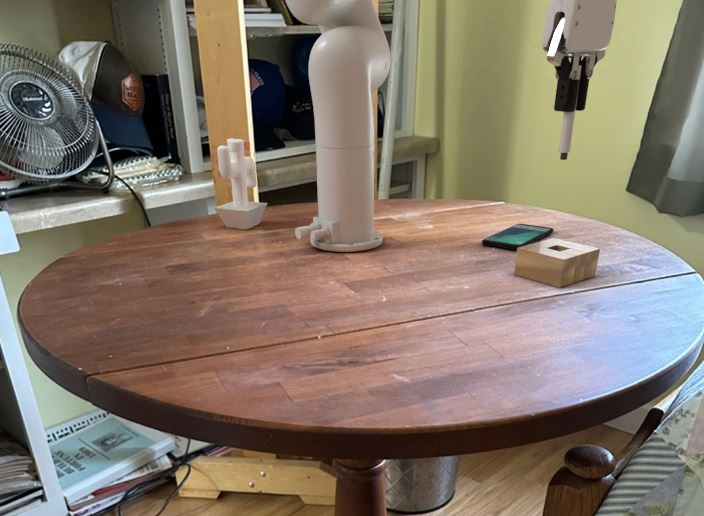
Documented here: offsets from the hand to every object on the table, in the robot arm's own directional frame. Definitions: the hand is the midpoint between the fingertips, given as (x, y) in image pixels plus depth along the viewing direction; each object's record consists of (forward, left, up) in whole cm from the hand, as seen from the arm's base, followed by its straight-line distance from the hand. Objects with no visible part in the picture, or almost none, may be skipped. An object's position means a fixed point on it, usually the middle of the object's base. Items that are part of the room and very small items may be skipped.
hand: (569, 109), depth 100 cm
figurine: (-25, +52, -21) cm, 62 cm away
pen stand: (-6, -6, -21) cm, 23 cm away
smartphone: (+6, +11, -21) cm, 25 cm away
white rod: (0, 0, -7) cm, 7 cm away
